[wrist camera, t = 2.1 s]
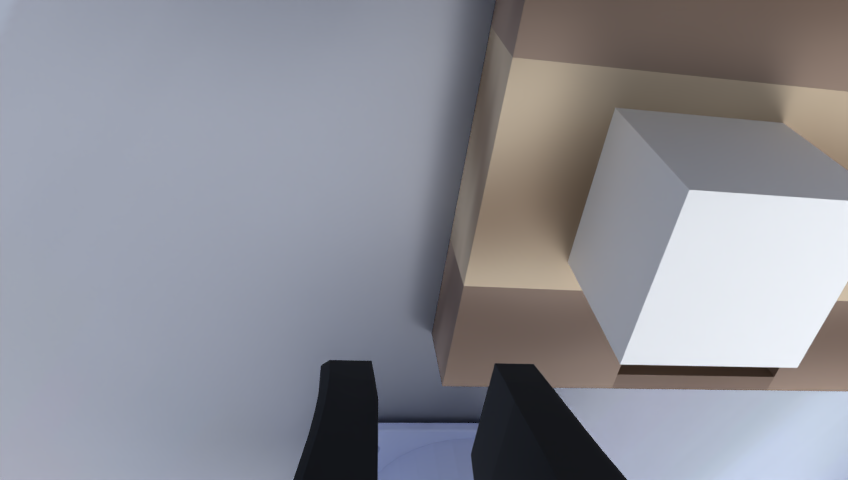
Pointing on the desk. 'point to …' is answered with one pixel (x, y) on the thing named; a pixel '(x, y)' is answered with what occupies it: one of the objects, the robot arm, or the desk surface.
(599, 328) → the trap board
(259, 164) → the desk surface
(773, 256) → the white block
